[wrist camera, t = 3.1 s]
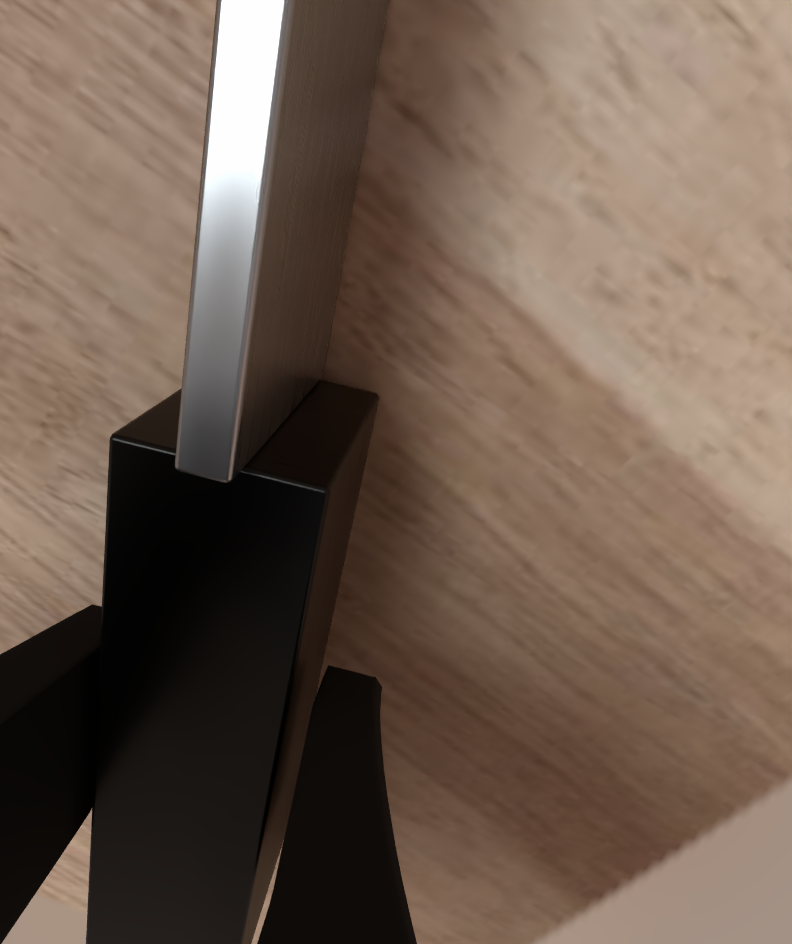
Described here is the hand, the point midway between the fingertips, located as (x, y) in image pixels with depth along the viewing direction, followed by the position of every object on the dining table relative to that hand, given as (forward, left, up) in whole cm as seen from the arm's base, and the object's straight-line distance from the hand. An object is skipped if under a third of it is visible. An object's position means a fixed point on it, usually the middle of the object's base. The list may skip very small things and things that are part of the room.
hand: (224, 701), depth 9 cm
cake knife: (+6, 0, -2) cm, 6 cm away
